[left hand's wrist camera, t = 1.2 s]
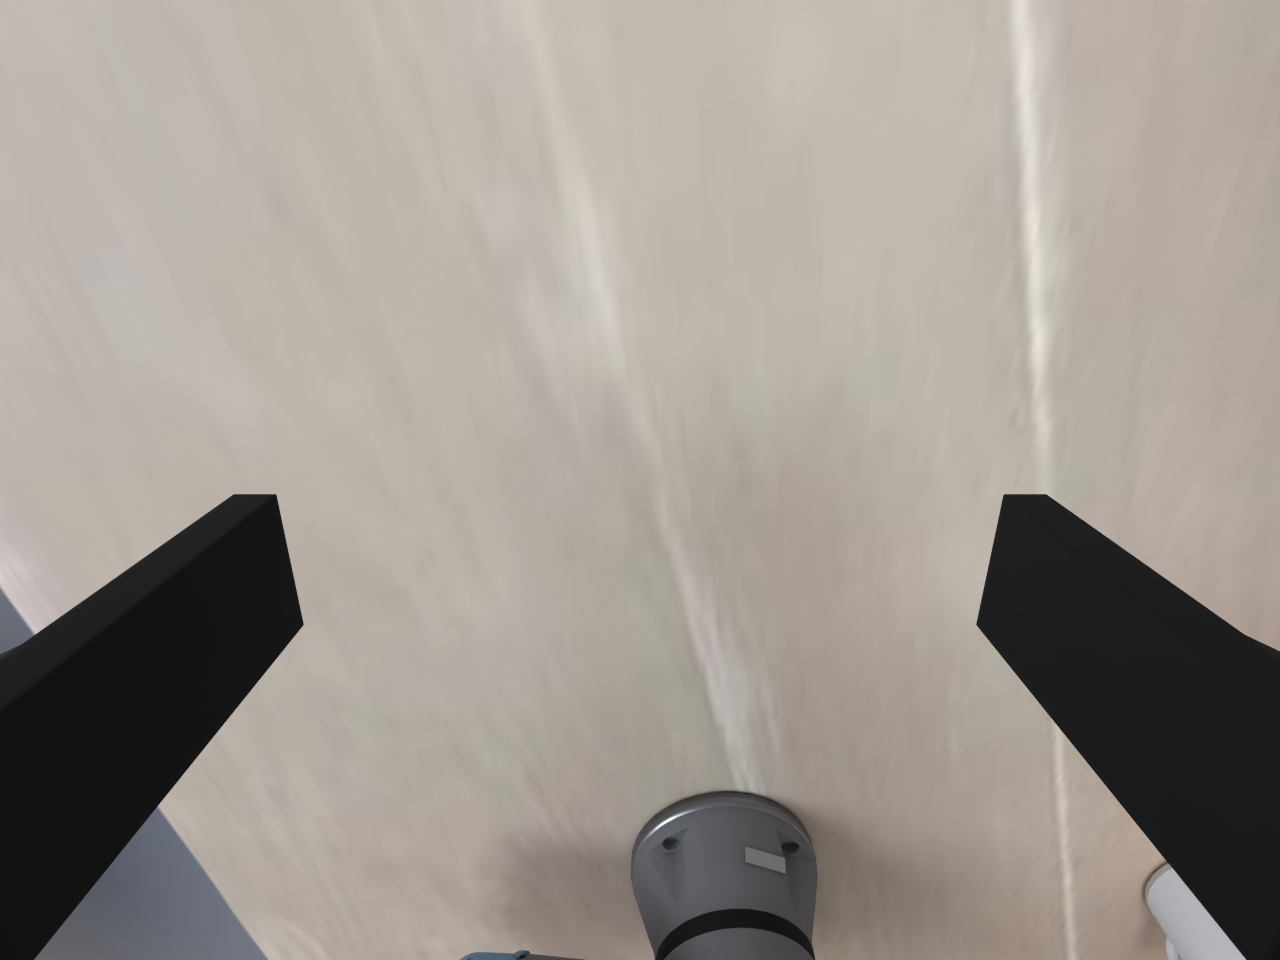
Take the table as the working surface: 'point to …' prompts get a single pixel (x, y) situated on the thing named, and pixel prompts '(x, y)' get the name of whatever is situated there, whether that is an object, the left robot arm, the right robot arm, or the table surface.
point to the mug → (1186, 920)
